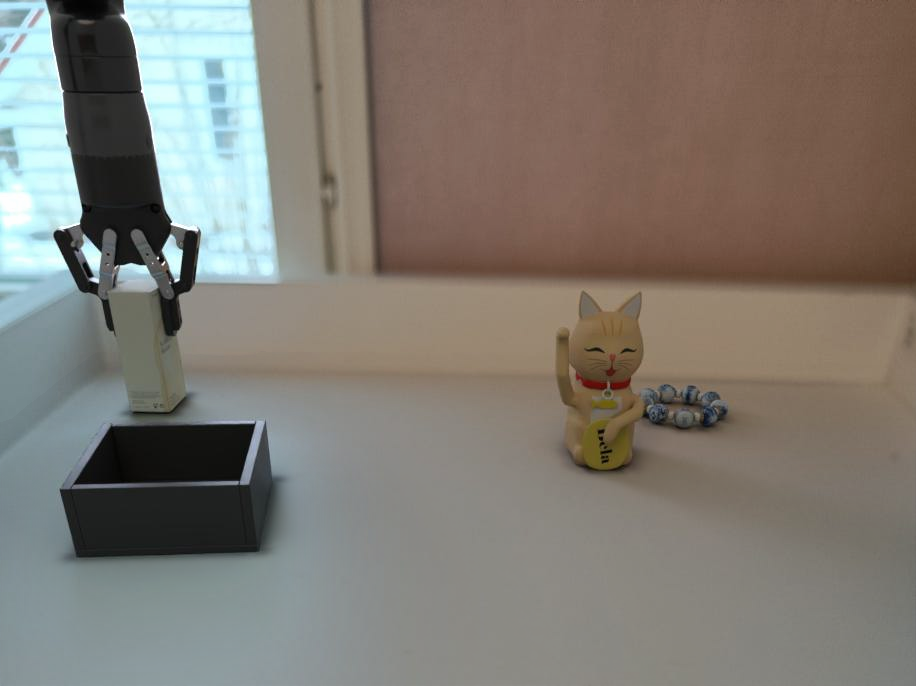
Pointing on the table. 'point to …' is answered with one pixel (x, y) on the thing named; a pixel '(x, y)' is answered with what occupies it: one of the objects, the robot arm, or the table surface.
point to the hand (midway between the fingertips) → (146, 334)
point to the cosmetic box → (146, 347)
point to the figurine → (601, 382)
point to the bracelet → (683, 416)
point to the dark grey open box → (170, 489)
